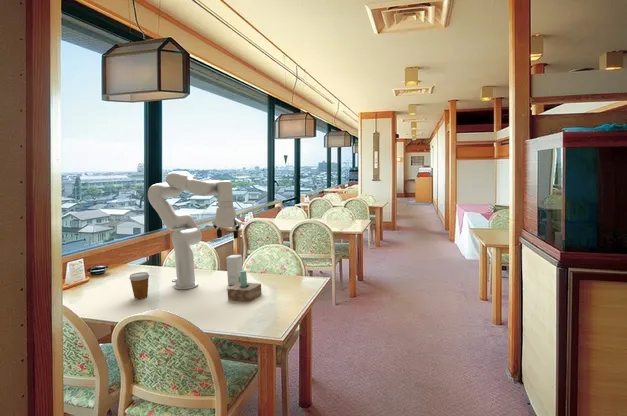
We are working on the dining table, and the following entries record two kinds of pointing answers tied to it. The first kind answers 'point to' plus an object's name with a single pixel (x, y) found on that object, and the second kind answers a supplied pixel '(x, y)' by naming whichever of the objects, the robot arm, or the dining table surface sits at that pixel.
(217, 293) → the dining table surface
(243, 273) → the peg
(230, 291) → the socket block
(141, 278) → the disposable coffee cup
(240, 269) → the skincare box
